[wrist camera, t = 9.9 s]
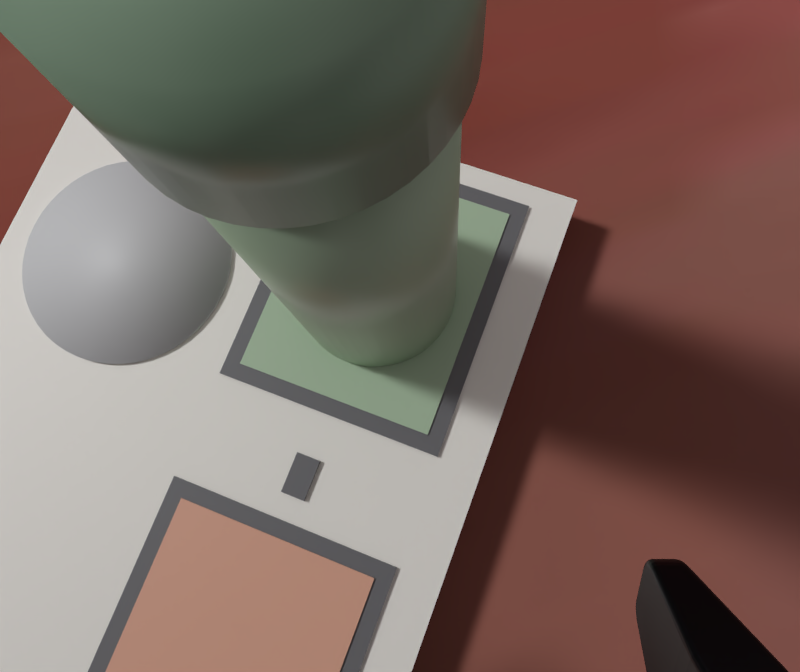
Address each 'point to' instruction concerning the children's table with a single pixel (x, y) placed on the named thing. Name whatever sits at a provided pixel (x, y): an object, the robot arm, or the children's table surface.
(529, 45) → the children's table surface
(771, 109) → the children's table surface
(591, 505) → the children's table surface
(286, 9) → the green joystick knob
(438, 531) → the white flat rectangular board
